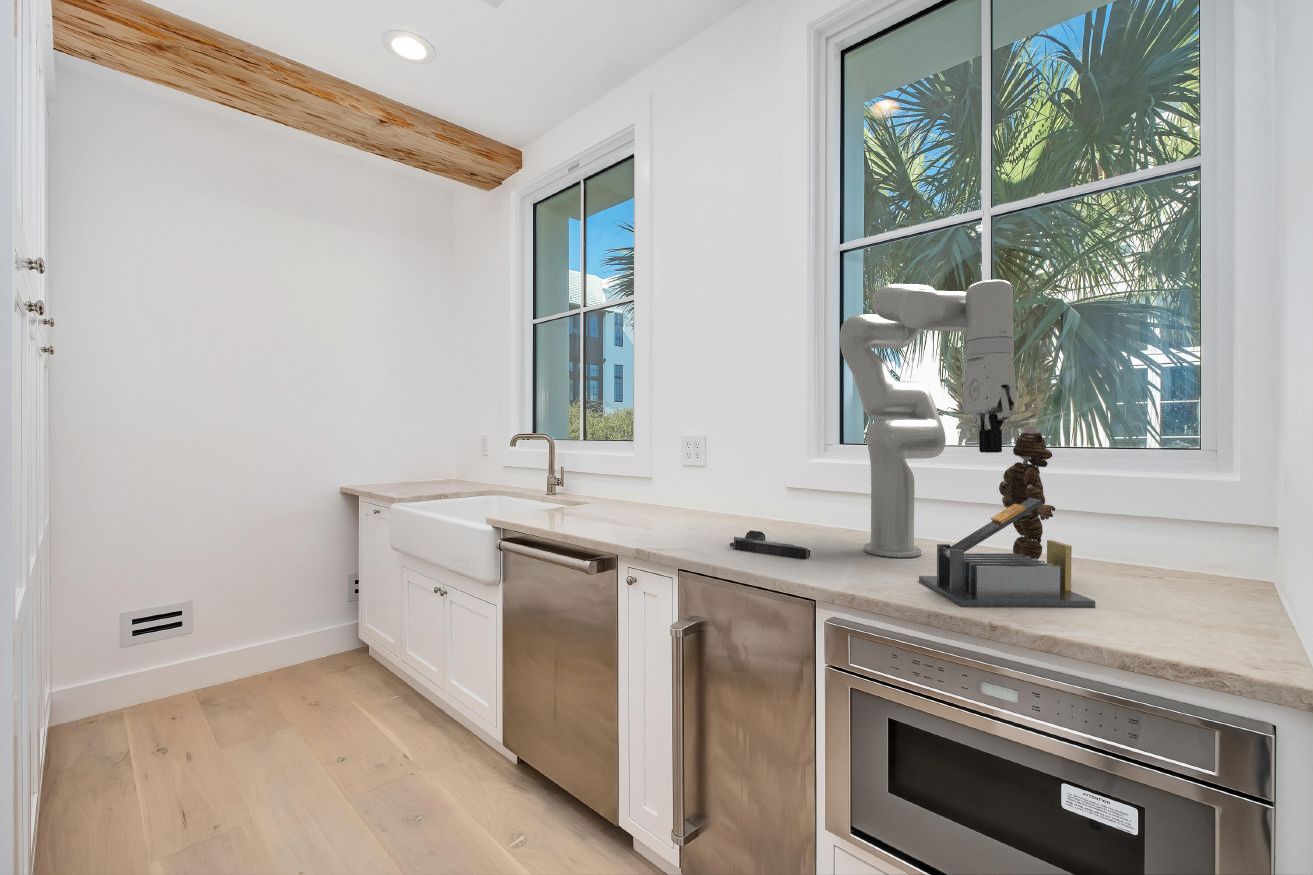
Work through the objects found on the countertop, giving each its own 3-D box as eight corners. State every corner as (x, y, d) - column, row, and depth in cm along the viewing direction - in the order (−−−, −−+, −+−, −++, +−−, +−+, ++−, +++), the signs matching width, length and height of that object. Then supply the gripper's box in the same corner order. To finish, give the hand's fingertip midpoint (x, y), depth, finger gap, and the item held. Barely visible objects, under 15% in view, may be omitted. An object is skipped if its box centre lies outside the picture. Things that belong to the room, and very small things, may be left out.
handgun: (747, 530, 154) (724, 537, 144) (825, 539, 141) (805, 548, 132) (747, 542, 154) (724, 551, 144) (825, 552, 142) (805, 562, 132)
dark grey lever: (953, 561, 103) (948, 553, 103) (944, 557, 107) (939, 549, 107) (1045, 505, 103) (1040, 497, 103) (1032, 502, 107) (1027, 494, 107)
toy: (1071, 585, 111) (1073, 425, 110) (1030, 583, 112) (1032, 425, 112) (1027, 561, 130) (1028, 425, 130) (993, 559, 132) (994, 425, 131)
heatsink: (961, 606, 97) (961, 552, 97) (918, 581, 113) (919, 534, 113) (1095, 606, 97) (1096, 552, 97) (1033, 581, 113) (1034, 534, 113)
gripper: (949, 357, 114) (950, 452, 114) (990, 344, 99) (991, 453, 99) (988, 357, 114) (989, 451, 114) (1035, 343, 99) (1037, 452, 99)
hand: (990, 452), depth 106 cm, fingers closed
